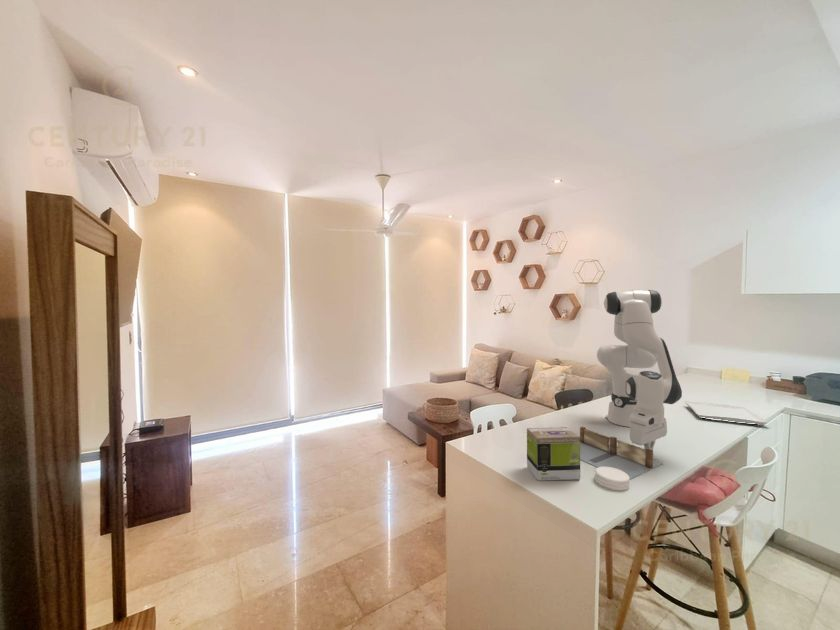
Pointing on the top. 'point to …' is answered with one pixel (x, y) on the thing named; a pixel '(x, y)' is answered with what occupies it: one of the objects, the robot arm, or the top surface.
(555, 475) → the tea box
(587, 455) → the card
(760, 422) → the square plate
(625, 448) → the panel
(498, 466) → the top surface
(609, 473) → the coaster
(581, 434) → the fence fixed panel
